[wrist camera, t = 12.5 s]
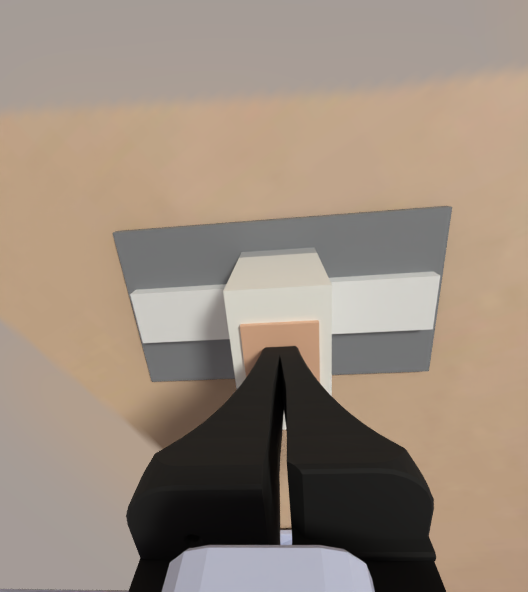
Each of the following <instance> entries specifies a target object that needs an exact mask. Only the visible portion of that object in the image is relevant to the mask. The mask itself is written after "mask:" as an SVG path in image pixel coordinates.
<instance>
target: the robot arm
mask: <svg viewBox="0 0 528 592" xmlns="http://www.w3.org/2000/svg"><path fill="white" fill-rule="evenodd" d="M284 414H285V422H286V430H287V471H288V485H289V498H290V512H291V526H292V530H280V482H279V471H280V453H281V441H282V428H283V416H284ZM433 510H434V499H433V497H432V494H431V492H430V489H429V487H428V485H427V483H426V481H425V479H424V477H423V475H422V474H421V472H420V470H419V469H418V467H417V466H416V464H415V462H414V461H413V459H412V458H411V456H410V455H409V453H408V452H407V450H406V449H405V448H403V447H401V446H399V445H398V444H396V443H394V442H392V441H391V440H389V439H387V438H385V437H383V436H382V435H380V434H378V433H377V432H375V431H374V430H372V429H371V428H369V427H368V426H366V425H365V424H363V423H362V422H360V421H359V420H358V419H357V418H355V417H354V416H353V415H352V414H350V413H349V412H348V411H347V410H345V409H344V408H343V407H342V406H341V405H340V404H339V403H338V402H337V401H336V400H335V399H334V398H333V397H332V396H331V395H330V394H329V393H328V392H327V391H326V390H325V389H324V387H323V386H322V385H321V384H320V383H319V381H318V380H317V379H316V377H315V376H314V375H313V373H312V372H311V370H310V369H309V367H308V366H307V364H306V363H305V361H304V359H303V358H302V356H301V354H300V351H299V349H298V348H297V347H296V346H283V347H265V348H264V349H263V350H262V352H261V354H260V356H259V358H258V360H257V362H256V363H255V365H254V367H253V368H252V370H251V371H250V373H249V374H248V376H247V377H246V379H245V380H244V381H243V382H242V384H241V385H240V386H239V388H238V389H237V390H236V391H235V393H234V394H233V395H232V396H231V397H230V398H229V399H228V400H227V401H226V403H225V404H224V405H223V406H222V407H221V408H220V409H218V410H217V411H216V412H215V413H214V414H213V415H212V416H211V417H210V418H208V419H207V420H206V421H205V422H203V423H202V424H201V425H200V426H198V427H197V428H196V429H194V430H193V431H191V432H190V433H188V434H187V435H186V436H184V437H182V438H181V439H179V440H178V441H176V442H174V443H173V444H171V445H169V446H168V447H166V448H164V449H163V450H161V451H159V452H157V453H156V454H155V455H154V456H153V458H152V460H151V462H150V463H149V465H148V467H147V468H146V470H145V472H144V474H143V476H142V477H141V480H140V482H139V484H138V486H137V489H136V491H135V493H134V495H133V497H132V499H131V502H130V504H129V506H128V510H127V515H126V517H127V522H128V527H129V529H130V532H131V534H132V537H133V540H134V542H135V545H136V548H137V550H138V553H139V555H140V561H139V564H138V567H137V569H136V572H135V575H134V578H133V581H132V583H131V586H130V589H129V591H126V590H125V591H122V590H54V589H50V590H49V589H45V590H44V589H0V592H446V590H445V587H444V585H443V582H442V580H441V577H440V575H439V572H438V570H437V567H436V565H435V562H434V561H435V560H436V554H435V551H434V548H433V546H432V544H431V541H430V539H429V531H430V526H431V520H432V515H433Z"/></svg>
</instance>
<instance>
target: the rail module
mask: <svg viewBox="0 0 528 592" xmlns="http://www.w3.org/2000/svg"><path fill="white" fill-rule="evenodd" d="M223 294H224V301H225V308H226V315H227V323H228V330H229V337H230V344H231V352H232V359H233V366H234V374H235V381H236V388H237V389H238V388H239V386H240V385H241V384H242V382H243V381H244V380H245V379H246V377H247V376H248V374H249V373H250V371H251V370H252V368H253V367H254V365H255V363H256V362H257V360H258V358H259V356H260V354H261V352H262V350H263V349H264V348H265V347H283V346H296V347H297V348H298V349H299V351H300V354H301V356H302V358H303V359H304V361H305V363H306V364H307V366H308V367H309V369H310V370H311V372H312V373H313V375H314V376H315V377H316V379H317V380H318V381H319V383H320V384H321V385H322V386H323V387H324V389H325V390H326V391H327V392H328V393H329V394H330V395H331V393H332V284H331V282H330V280H329V278H328V275H327V273H326V271H325V269H324V267H323V265H322V263H321V260H320V258H319V256H318V254H317V252H316V250H315V248H314V247H312V248H297V249H282V250H267V251H252V252H241V255H240V257H239V259H238V261H237V263H236V265H235V267H234V269H233V271H232V274H231V276H230V278H229V280H228V282H227V284H226V286H225V288H224V290H223ZM283 429H286V422H285V414H284V416H283V428H282V430H283Z"/></svg>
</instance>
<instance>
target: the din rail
mask: <svg viewBox="0 0 528 592" xmlns="http://www.w3.org/2000/svg"><path fill="white" fill-rule="evenodd" d="M451 212H452V207H450V206H440V207H427V208H413V209H400V210H387V211H374V212H361V213H348V214H335V215H322V216H309V217H295V218H282V219H269V220H256V221H243V222H230V223H217V224H204V225H191V226H177V227H164V228H151V229H138V230H125V231H116V232H113V236H114V240H115V244H116V248H117V252H118V255H119V259H120V263H121V267H122V271H123V274H124V278H125V282H126V286H127V289H128V293H129V297H130V301H131V305H132V308H133V312H134V316H135V320H136V324H137V327H138V331H139V335H140V339H141V342H142V346H143V350H144V354H145V358H146V361H147V365H148V369H149V373H150V377H151V380H152V382H156V381H182V380H208V379H235V374H234V366H233V359H232V352H231V344H230V337H229V330H228V323H227V315H226V308H225V301H224V294H223V290H224V288H225V286H226V284H227V282H228V280H229V278H230V276H231V274H232V271H233V269H234V267H235V265H236V263H237V261H238V259H239V257H240V255H241V252H252V251H267V250H282V249H297V248H312V247H314V248H315V250H316V252H317V254H318V256H319V258H320V260H321V263H322V265H323V267H324V269H325V271H326V273H327V275H328V278H329V280H330V282H331V284H332V375H339V374H366V373H392V372H418V371H429V366H430V359H431V352H432V345H433V338H434V331H435V324H436V317H437V310H438V303H439V296H440V289H441V282H442V275H443V268H444V261H445V254H446V247H447V240H448V233H449V226H450V219H451Z"/></svg>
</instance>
